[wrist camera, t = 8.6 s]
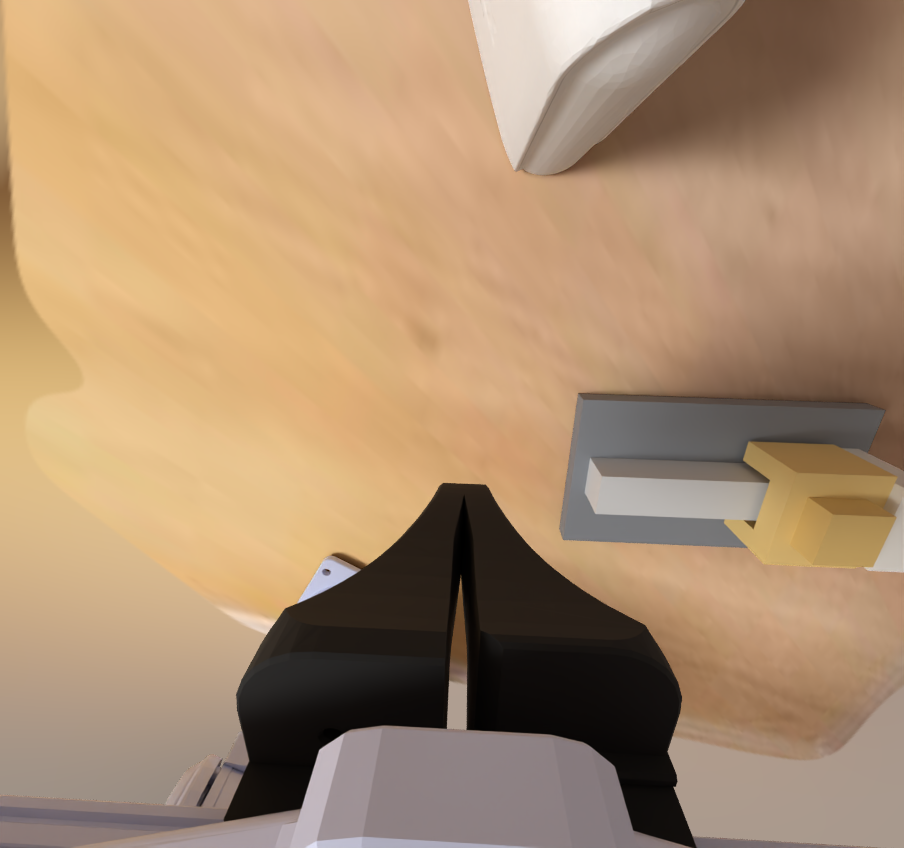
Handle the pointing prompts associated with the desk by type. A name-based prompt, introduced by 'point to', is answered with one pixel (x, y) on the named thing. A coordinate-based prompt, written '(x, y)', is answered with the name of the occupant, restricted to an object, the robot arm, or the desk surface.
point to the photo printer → (581, 66)
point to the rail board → (691, 442)
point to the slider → (817, 507)
